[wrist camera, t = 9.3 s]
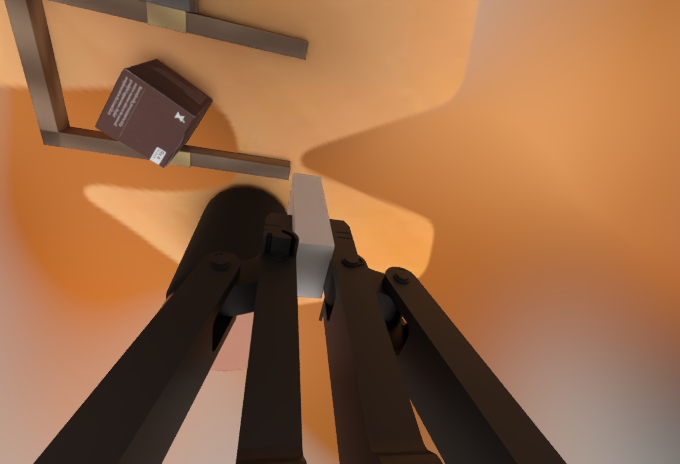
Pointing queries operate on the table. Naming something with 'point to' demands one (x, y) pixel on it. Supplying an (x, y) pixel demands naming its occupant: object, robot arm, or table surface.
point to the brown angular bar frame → (128, 4)
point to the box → (153, 111)
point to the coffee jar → (234, 237)
